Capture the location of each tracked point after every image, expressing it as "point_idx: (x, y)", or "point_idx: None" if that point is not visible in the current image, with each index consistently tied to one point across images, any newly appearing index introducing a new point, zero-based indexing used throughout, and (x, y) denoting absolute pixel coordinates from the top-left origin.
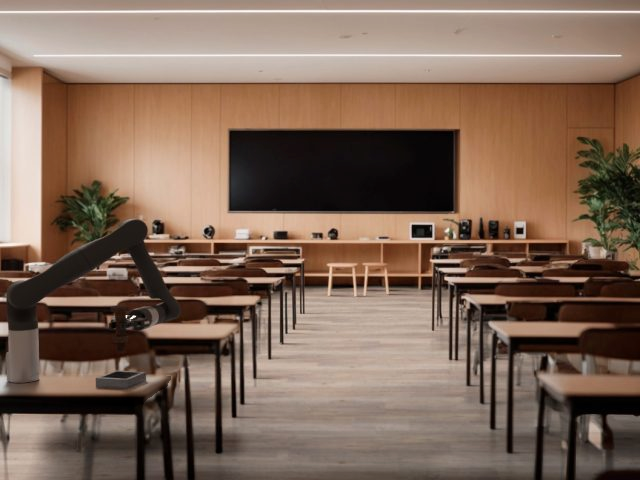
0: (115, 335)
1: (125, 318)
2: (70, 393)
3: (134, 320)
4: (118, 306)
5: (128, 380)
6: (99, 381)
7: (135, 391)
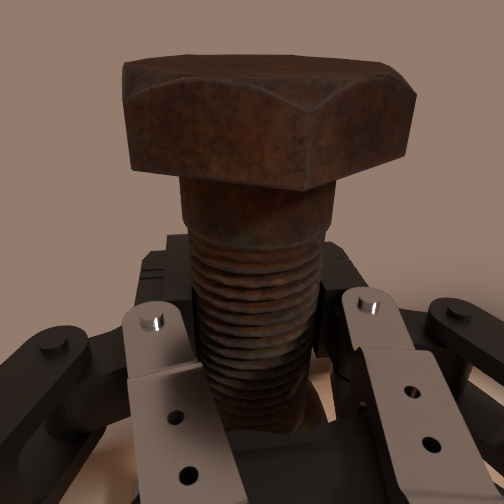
0: (316, 402)
1: (376, 443)
2: (328, 378)
3: (66, 339)
4: (278, 62)
5: (133, 495)
6: None
7: (81, 490)
